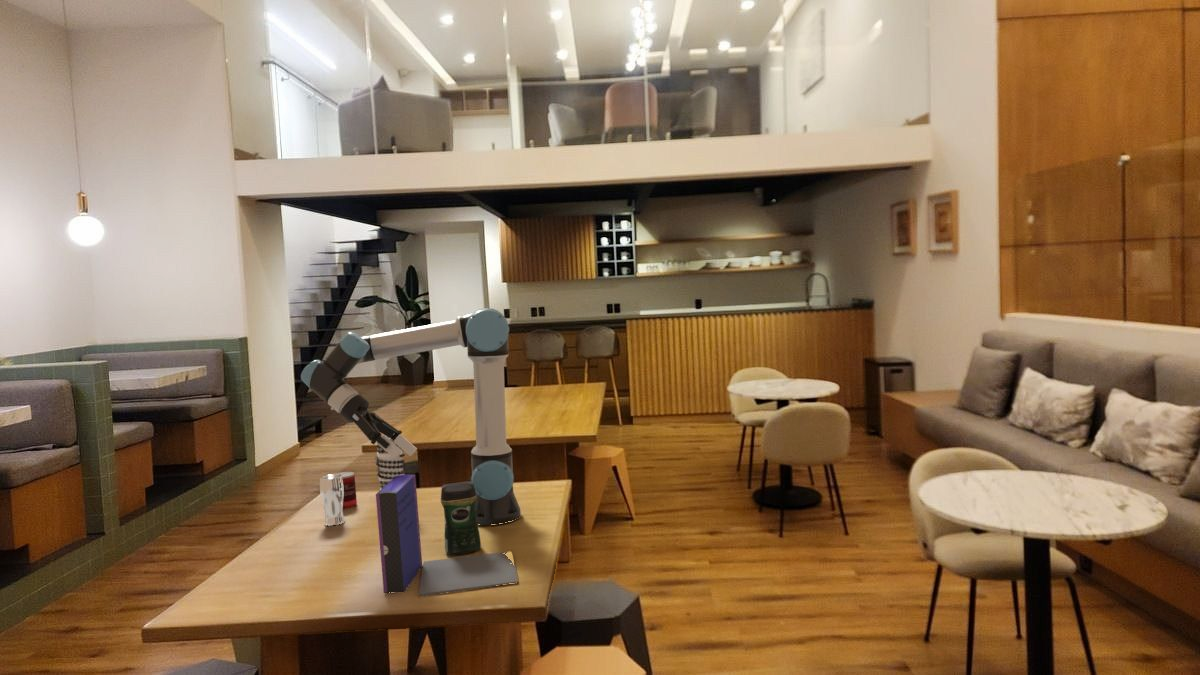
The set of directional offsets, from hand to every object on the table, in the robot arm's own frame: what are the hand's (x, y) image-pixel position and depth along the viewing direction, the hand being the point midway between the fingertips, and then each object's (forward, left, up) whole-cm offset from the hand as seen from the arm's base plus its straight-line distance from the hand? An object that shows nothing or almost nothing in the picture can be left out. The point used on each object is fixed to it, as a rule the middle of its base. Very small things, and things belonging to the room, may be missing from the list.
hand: (406, 453), depth 205 cm
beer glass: (+27, -36, -27) cm, 52 cm away
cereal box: (+1, +21, -27) cm, 35 cm away
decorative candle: (+9, -40, -27) cm, 49 cm away
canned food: (+27, -56, -27) cm, 67 cm away
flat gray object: (-15, +23, -27) cm, 39 cm away
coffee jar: (-13, +5, -27) cm, 31 cm away
